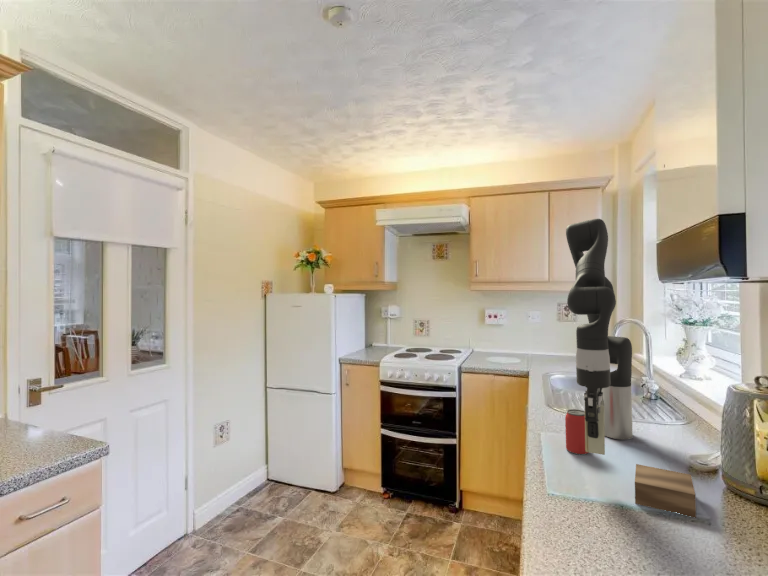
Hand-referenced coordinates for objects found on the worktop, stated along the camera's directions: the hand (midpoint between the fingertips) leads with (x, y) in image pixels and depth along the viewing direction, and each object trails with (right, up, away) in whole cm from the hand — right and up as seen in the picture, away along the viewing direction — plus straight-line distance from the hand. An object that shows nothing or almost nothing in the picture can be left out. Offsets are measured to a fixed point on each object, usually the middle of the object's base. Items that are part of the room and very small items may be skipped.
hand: (594, 432), depth 98 cm
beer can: (+7, -14, +22) cm, 27 cm away
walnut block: (+13, -13, -6) cm, 20 cm away
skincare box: (0, -4, 0) cm, 4 cm away
